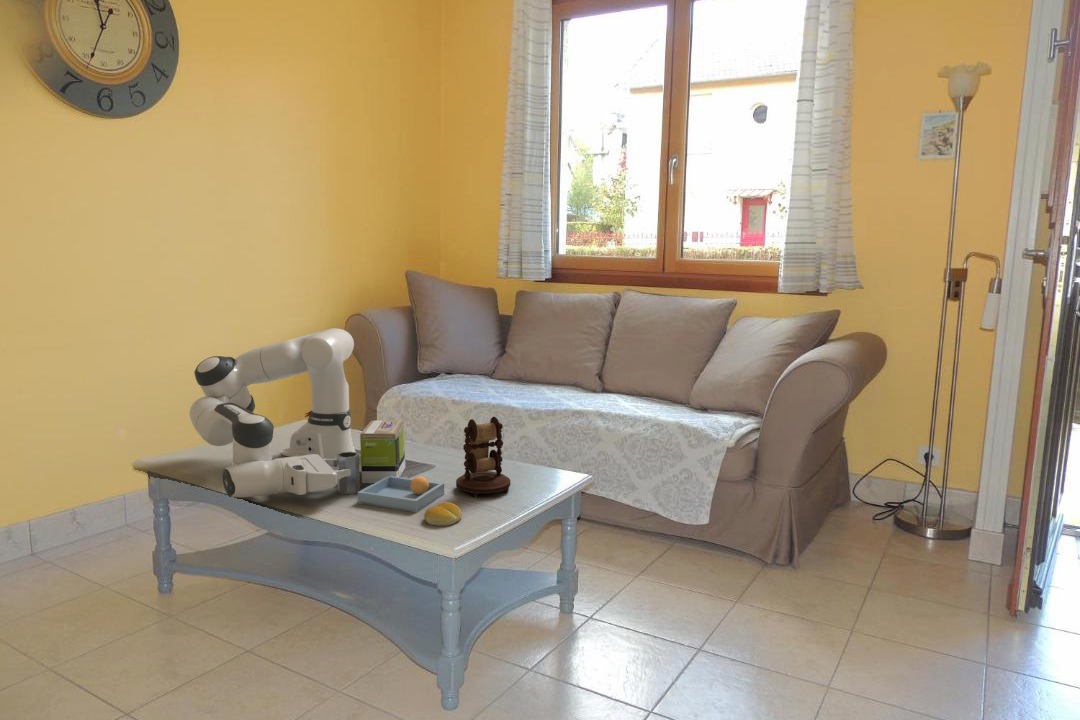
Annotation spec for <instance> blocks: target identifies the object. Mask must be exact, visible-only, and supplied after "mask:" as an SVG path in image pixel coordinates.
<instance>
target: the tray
mask: <svg viewBox="0 0 1080 720" xmlns="http://www.w3.org/2000/svg"><path fill="white" fill-rule="evenodd" d="M413 479H414V478H409V477H403V476H402V477H401V476H400V477H395V476H387V477H385V478H383V479H381V480H379V481H378V482H376V483H374V484H370V485H368V486H367V487H365V488H363V489H360V491H358V492H357V505H358V504H359V505H366V506H371V507H378V508H379V507H380V508H386V509H390V508H391V510H397V511H403V512H404V511H405V512H410V513H419V512H420V511H421V510H422V509H425V508H426V507H427V506H429V505H430V504H432V503H433V502H434V501H436V500H438V499H439V498H441V497H442V496H443V495H445V483H444V482H437V481H430V480H427V481H428V483H429V488H428V490H427V491H426V492H425V493H424V494H421V495H417V494H415V493H413V492H412V490H411V487H410V484H411V481H412V480H413Z"/></svg>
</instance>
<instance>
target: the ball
mask: <svg viewBox="0 0 1080 720" xmlns="http://www.w3.org/2000/svg"><path fill="white" fill-rule="evenodd" d="M412 479H413V480H412V481H411V484H410V487H411V490H412V492H413V493H415V494H417V495H421V494H424V493H425V492H426V491H427V490H428V488H429V483H428V481H429V480H428V479H427V478H426V477H424V476H422V475H421V476H415V477H414V478H412Z"/></svg>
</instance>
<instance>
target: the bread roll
mask: <svg viewBox="0 0 1080 720" xmlns="http://www.w3.org/2000/svg"><path fill="white" fill-rule="evenodd" d="M423 518H424V520H425V521H426V523H427V524H428V525H431V526H435V527H436V526H437V527H438V526H439V527H442V526H443V527H446V526H452V525H454V524H455V523H458V522H459V521H460V520H461V519H462V518H463V512H462V510H461V508H460V507H459V506H458V505H457V504H455V503H452V502H450V501H445V502H444V501H443V502H440V503H438V504H436V505H435V506H432V507H429V508H428V509H426V511H425V512H424V514H423Z"/></svg>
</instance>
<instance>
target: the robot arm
mask: <svg viewBox="0 0 1080 720" xmlns="http://www.w3.org/2000/svg"><path fill="white" fill-rule="evenodd" d="M354 348H355V341H354V338H353V337H352V335H351V333H350V332H348V330H347V331H346V330H345V329H342V328H339V327H338V328H335V327H334V328H328V329H324V330H320V331H317V332H314V333H309V334H305V335H303V336H299V337H295V338H291V339H286V340H284V341H279V342H275V343H271V344H267V345H263V346H261V347H257V348H253V349H251V350H248V351H246V352H244V353H242V354H240V355H238V356H237V357H235V358H234V357H233V356H222V355H214V356H210V357H208V358H205V359H204V360H202V361H201V362H200V363H199V364H197V366H196V367H195V369H194V378H195V380H196V383H197V384H198V386H200V388H201V391H202V393H203V394H204V396H203V397H200V398H198V399H196V400H195V401H194V402H193V403H192V404H191V406H190V408H189V418H190V421H191V423H192V426H193V428H194V429H195V431H196V432H197V433H198V435H199V436H200V438H202V440H204V442H206V444H207V443H208V444H209V445H211V446H214V447H223V446H224V447H225V446H228V445H230V444H232V462H231V465H230V466H227V467H225V468H224V470H223V471H222V483H223V487H224V488H223V489H224V491H225V493H226V494H227V496H229V497H230V498H231V497H232V498H255V497H262V496H266V495H269V494H271V493H277V494H282V493H292V494H295V495H298V496H304V495H306V494H307V492H310V493H313V492H319V491H323V490H329V489H332V488H334V487H336V486H337V480H338V479H341V478H343V477H346V476H350V475H351V470H350V469H349V468H344V469H343V470H339V471H337V469H335V470H334V469H333V468H332V467H334V468H337V454H339V453H342V452H356V449H355V447H354V443H353V439H352V438H353V437H352V431H351V424H352V413H351V408H350V394H349V393H350V389H349V388H350V385H349V383H348V381H347V378H346V375H345V370H344V362H345V361H347V360H348V359H349V357H350V356H351V355H352V353H353V351H354ZM305 373H308V377H309V381H310V389H311V408H312V409H311V410H310V411H308V412H305V413H304V415H305V416H304V418H307V417H308V419H307V422H305V423H304V424H303V425H302V426H300V427H299V428H298V429H297V430H295V431H294V432H293V433H292V434H291V437H290V441H289V446H288V447H286V448H284V449H283V450H282V452H281V455H282V456H286V457H277V458H274V459H273V438H274V428H275V427H274V426H275V425H274V423H273V422H272V421H271V420H269V418H267V417H266V416H264V415H262V414H258V413H254V410H255V409H256V403H255V400H254V397H253V395H252V394H251V393H250V391H249V388H248V387H249V386H250V385H255V384H256V385H257V384H264V383H269V382H270V383H271V382H275V381H278V380H282V379H286V378H290V377H295V376H299V375H302V374H305Z"/></svg>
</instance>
